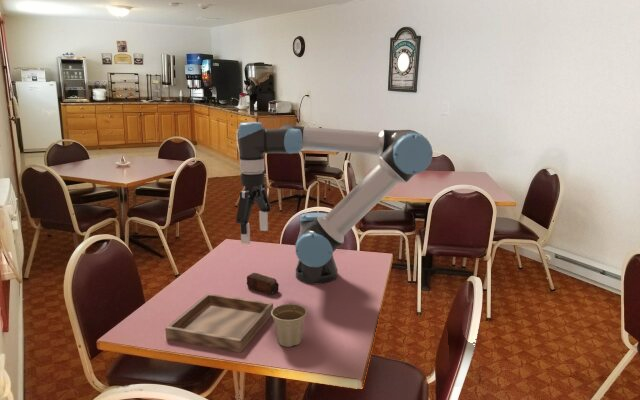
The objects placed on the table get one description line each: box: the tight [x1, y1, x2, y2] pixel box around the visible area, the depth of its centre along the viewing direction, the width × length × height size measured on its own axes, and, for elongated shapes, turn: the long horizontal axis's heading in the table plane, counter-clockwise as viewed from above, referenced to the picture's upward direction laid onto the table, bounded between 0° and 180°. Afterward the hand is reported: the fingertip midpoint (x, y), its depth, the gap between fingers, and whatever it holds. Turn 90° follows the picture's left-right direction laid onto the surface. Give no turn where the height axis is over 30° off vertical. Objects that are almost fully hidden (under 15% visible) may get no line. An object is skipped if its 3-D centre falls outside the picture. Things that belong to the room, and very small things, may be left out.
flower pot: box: [271, 303, 308, 348], centre depth 122 cm, size 9×9×9 cm
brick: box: [246, 272, 279, 296], centre depth 153 cm, size 11×4×5 cm, turn 59°
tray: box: [164, 292, 274, 353], centre depth 130 cm, size 22×22×3 cm
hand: (255, 236), depth 149 cm, fingers open, 13 cm apart
